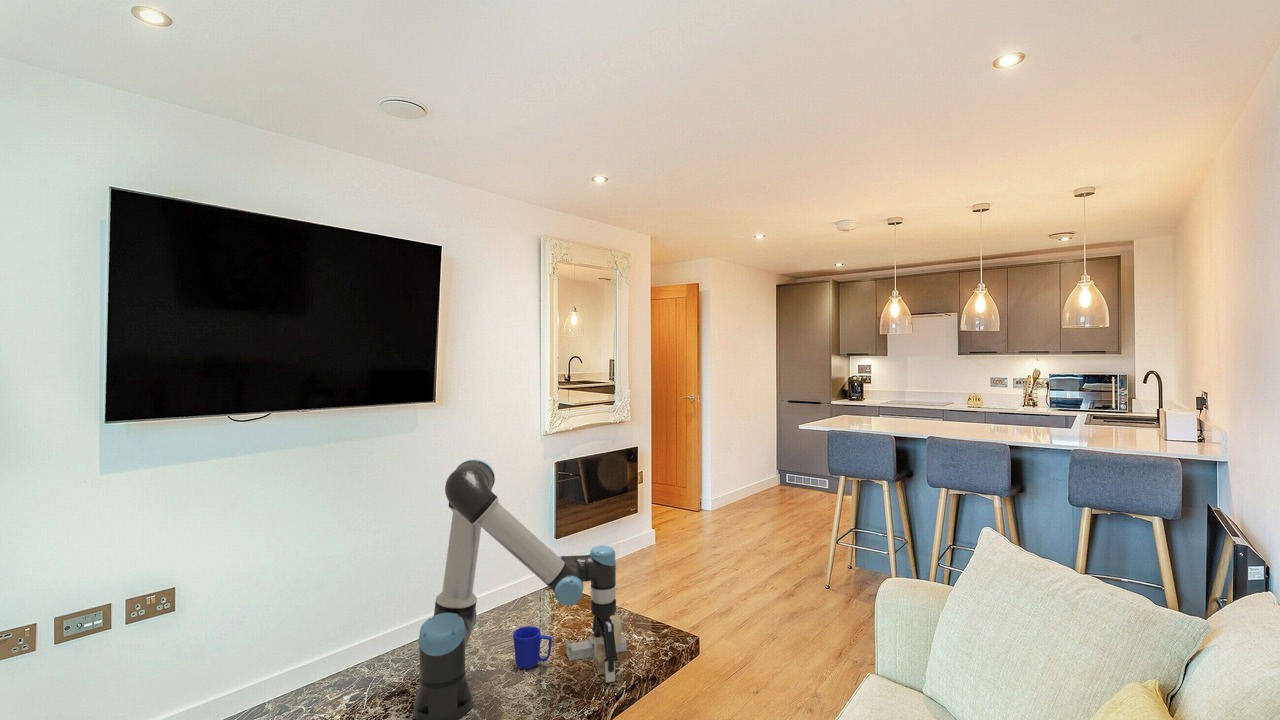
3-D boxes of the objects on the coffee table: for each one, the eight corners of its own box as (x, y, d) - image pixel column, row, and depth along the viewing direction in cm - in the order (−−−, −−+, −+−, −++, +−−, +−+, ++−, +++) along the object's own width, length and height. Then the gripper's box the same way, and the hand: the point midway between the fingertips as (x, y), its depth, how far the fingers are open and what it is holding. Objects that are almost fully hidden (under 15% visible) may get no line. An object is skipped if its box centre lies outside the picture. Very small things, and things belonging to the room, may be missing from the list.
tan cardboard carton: (599, 674, 174) (599, 651, 174) (596, 668, 177) (596, 645, 177) (614, 672, 175) (614, 648, 175) (610, 665, 179) (610, 642, 179)
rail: (568, 661, 181) (568, 629, 181) (565, 653, 186) (565, 622, 186) (626, 651, 187) (626, 620, 187) (622, 643, 192) (621, 613, 192)
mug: (546, 674, 174) (546, 641, 174) (509, 670, 177) (508, 637, 176) (556, 660, 182) (555, 628, 182) (520, 656, 185) (519, 625, 185)
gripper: (627, 615, 165) (628, 689, 165) (605, 582, 189) (605, 647, 189) (601, 619, 163) (602, 694, 163) (582, 585, 186) (583, 651, 187)
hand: (604, 669), depth 176 cm, fingers open, 13 cm apart
